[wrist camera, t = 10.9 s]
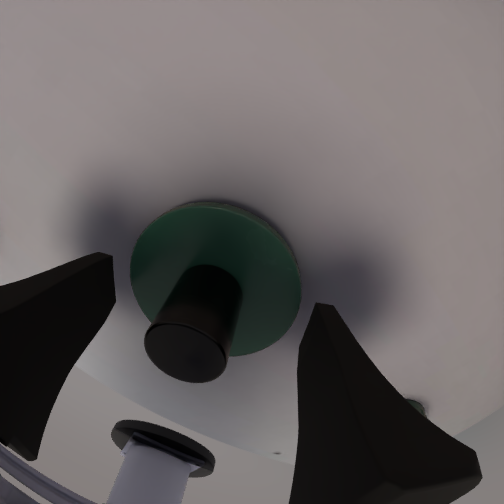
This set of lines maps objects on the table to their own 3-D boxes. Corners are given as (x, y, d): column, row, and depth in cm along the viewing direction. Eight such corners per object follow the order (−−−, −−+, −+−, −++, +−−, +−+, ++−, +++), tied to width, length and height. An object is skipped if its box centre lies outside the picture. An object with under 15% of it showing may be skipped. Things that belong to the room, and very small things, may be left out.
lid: (247, 359, 13) (232, 438, 9) (124, 292, 12) (74, 356, 9) (335, 256, 11) (355, 336, 7) (178, 163, 10) (112, 197, 6)
